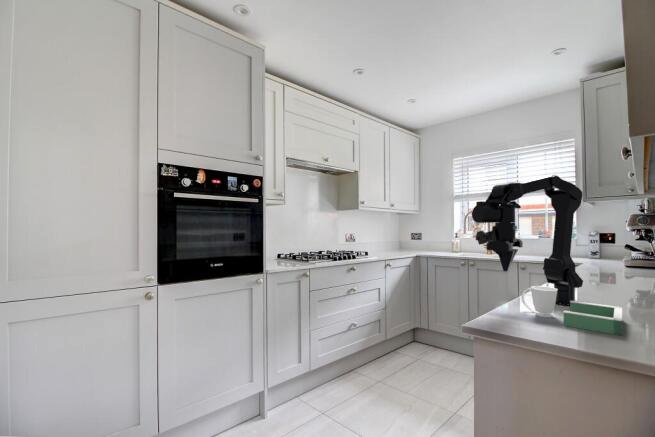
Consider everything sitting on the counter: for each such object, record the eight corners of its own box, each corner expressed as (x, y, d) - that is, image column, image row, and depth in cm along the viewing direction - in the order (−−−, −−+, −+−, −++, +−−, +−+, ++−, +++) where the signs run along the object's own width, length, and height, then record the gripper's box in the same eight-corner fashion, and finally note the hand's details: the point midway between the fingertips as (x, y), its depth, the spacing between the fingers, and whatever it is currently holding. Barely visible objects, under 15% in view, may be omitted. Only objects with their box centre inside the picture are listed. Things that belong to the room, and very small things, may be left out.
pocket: (571, 312, 98) (570, 300, 98) (622, 320, 90) (622, 307, 90) (563, 325, 86) (563, 311, 86) (622, 335, 78) (621, 320, 78)
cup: (550, 320, 90) (550, 291, 91) (515, 311, 99) (515, 285, 99) (563, 316, 94) (563, 289, 94) (528, 308, 103) (528, 283, 103)
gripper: (487, 222, 115) (487, 265, 115) (468, 223, 102) (469, 272, 101) (522, 222, 108) (523, 268, 108) (507, 223, 94) (508, 276, 94)
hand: (505, 271), depth 103 cm, fingers closed
